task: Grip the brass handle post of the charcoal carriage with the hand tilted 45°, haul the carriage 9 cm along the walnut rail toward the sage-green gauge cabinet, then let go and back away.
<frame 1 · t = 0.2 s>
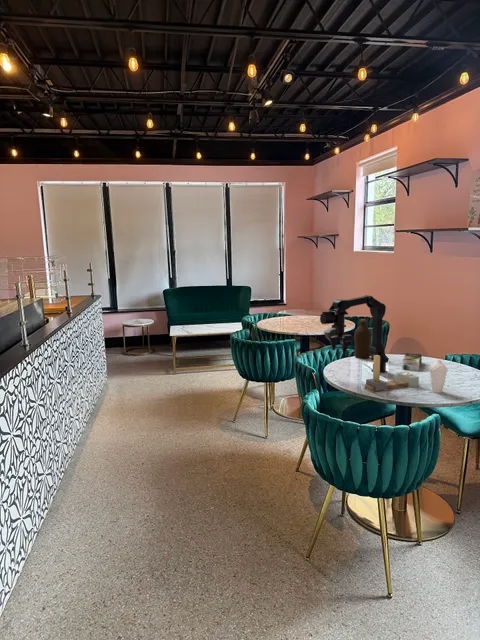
hand: (338, 351, 228), 15 cm above the table, tool pointing down, fingers open, 9 cm apart
rail: (386, 387, 211), on the table
olive oil: (362, 357, 274), on the table
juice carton: (411, 366, 251), on the table
soft serve ice cream cone: (437, 392, 204), on the table
gauge cabinet: (407, 384, 216), on the table
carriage: (376, 371, 208), point 9 cm above the table, slide at 0.0 cm
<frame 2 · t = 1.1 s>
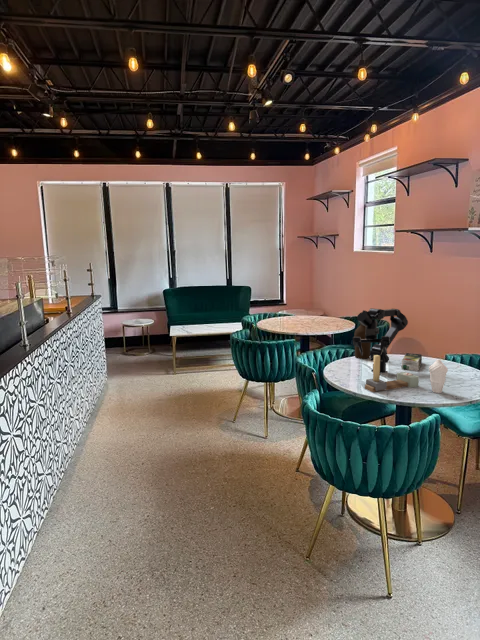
hand: (371, 355, 222), 14 cm above the table, tool tilted 40°, fingers open, 9 cm apart
nothing on the table moved.
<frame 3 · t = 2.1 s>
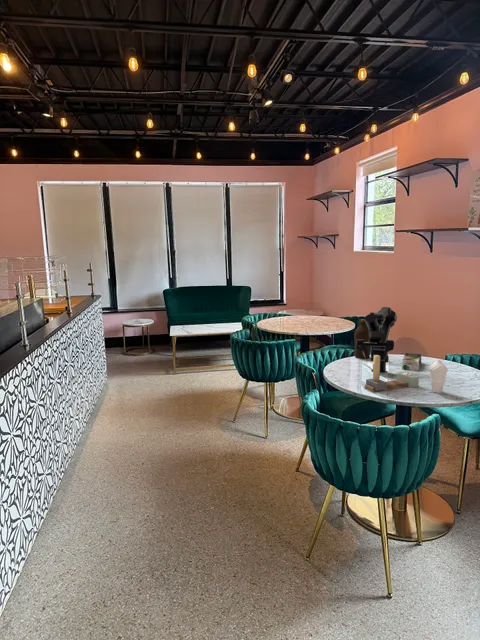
hand: (375, 358, 215), 14 cm above the table, tool tilted 45°, fingers open, 9 cm apart
nothing on the table moved.
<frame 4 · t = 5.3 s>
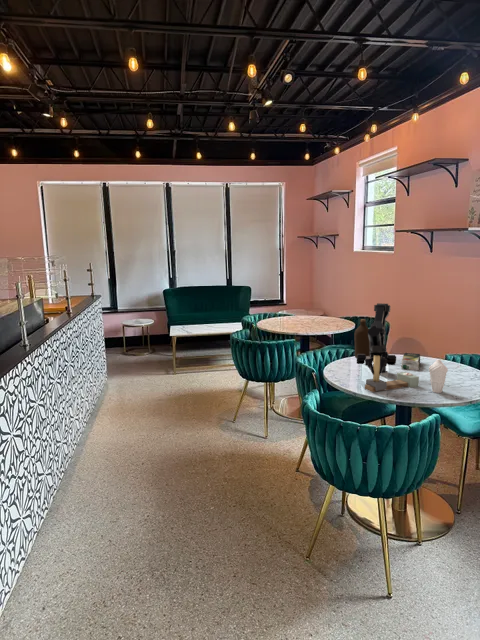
hand: (376, 374, 207), 8 cm above the table, tool tilted 45°, fingers closed on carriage, 3 cm apart
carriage: (376, 371, 208), point 9 cm above the table, slide at 0.0 cm, touching gripper
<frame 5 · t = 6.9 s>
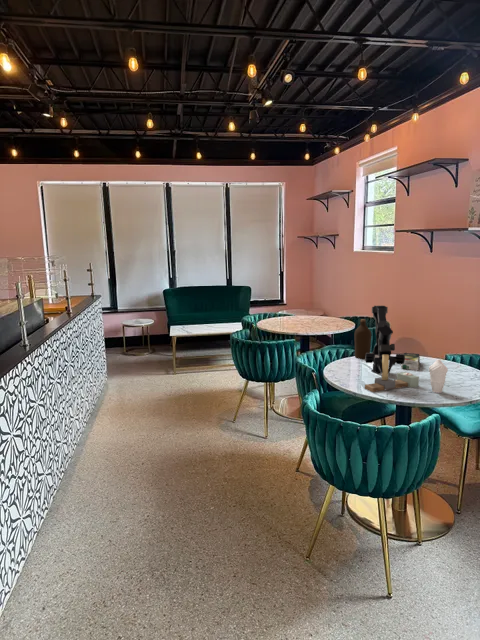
hand: (385, 372, 209), 8 cm above the table, tool tilted 45°, fingers closed on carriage, 3 cm apart
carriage: (385, 370, 210), point 9 cm above the table, slide at 5.3 cm, touching gripper
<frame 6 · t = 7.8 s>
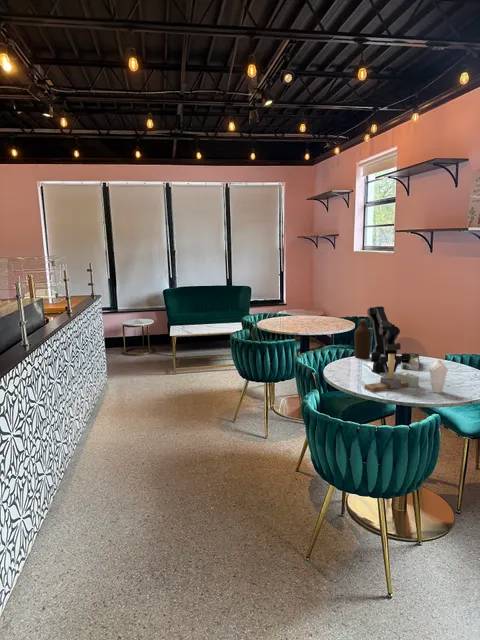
hand: (391, 372, 210), 8 cm above the table, tool tilted 45°, fingers closed on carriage, 3 cm apart
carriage: (391, 369, 211), point 9 cm above the table, slide at 8.8 cm, touching gripper
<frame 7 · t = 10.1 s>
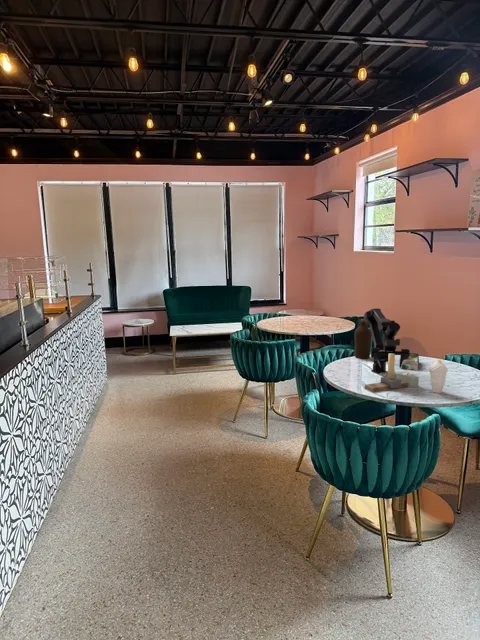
hand: (390, 367, 213), 10 cm above the table, tool tilted 45°, fingers open, 9 cm apart
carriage: (391, 369, 211), point 9 cm above the table, slide at 8.9 cm
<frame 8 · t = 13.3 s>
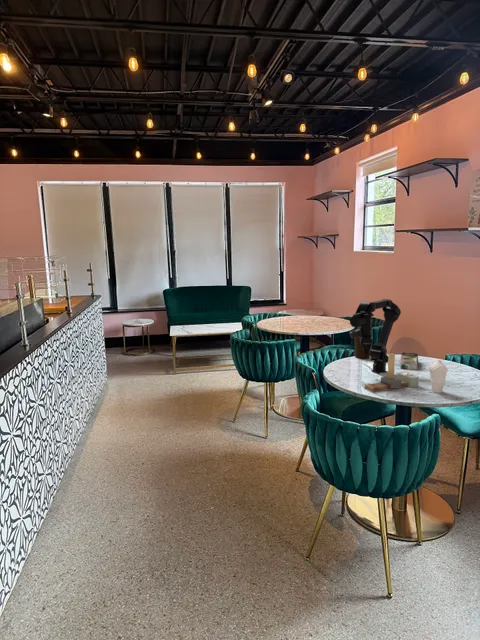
hand: (365, 353, 230), 13 cm above the table, tool pointing down, fingers open, 9 cm apart
at the end: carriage slide at 8.9 cm; the gripper is holding nothing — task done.
